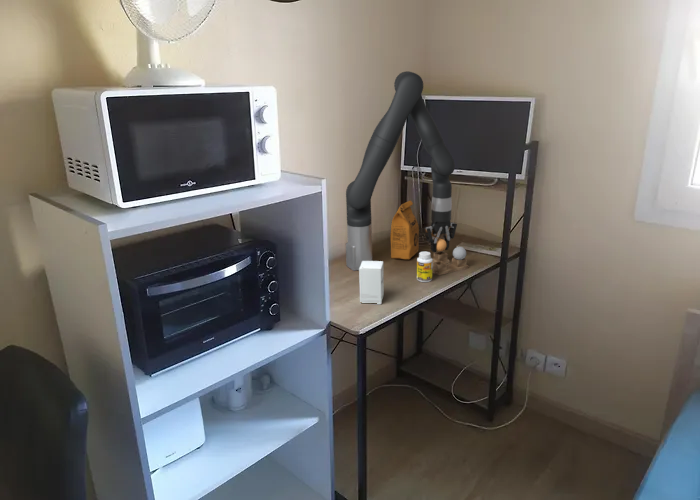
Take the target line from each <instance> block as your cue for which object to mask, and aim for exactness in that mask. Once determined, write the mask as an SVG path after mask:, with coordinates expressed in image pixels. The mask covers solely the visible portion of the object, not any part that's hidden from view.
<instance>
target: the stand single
mask: <svg viewBox="0 0 700 500" xmlns="http://www.w3.org/2000/svg"><path fill="white" fill-rule="evenodd" d="M431 258H432V259H433V262H437V261H443V262H445V263H447V264H450V259H448V253H447V252H444V250H443V251H436V252H433V257H431Z"/></svg>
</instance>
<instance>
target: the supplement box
mask: <svg viewBox="0 0 700 500" xmlns="http://www.w3.org/2000/svg"><path fill="white" fill-rule="evenodd" d="M358 274H359V275H358V281H359V303H360V302H362V303H377V304H376V305H382V303H383V298H384V296H385V295H384V293H385V292H384V283H385V282H384V279H385V278H384V276H385V275H384V261H383V260H382V261H381V260H380V261H379V260H372V261H362V263H361V265H360V268H359V270H358Z"/></svg>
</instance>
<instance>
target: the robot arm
mask: <svg viewBox="0 0 700 500" xmlns="http://www.w3.org/2000/svg"><path fill="white" fill-rule="evenodd" d="M393 84H394V87H393V88H394V92H395V93H394V96H393V98H392V100H391V103H390V105H389V107H388V109H387V111H386V112H385V114H384V115H383V116H382V118H381V119H380V121H379V122H378V123H377V125H376V127H375V128H374V130H373V132H372V135H371V137H370V139H369V141H368V143H367V146H366V148H365V151H364V152H365V153H364V155H363V159H362V163H361V166H360V168H359V171H358V173H357V175H356V177H355V179H354V180H353V181H351V182H350V183H349V184H348V185H347V187H346V191H345V201H346V203H345V204H346V225H347V226H346V228H347V242H346V243H345V258H346V259H345V260H346V261H345V262H346V263H345V264H346V267H347V268H349V269H350V270H352V271H354V272H355V271H359V268H360V265H361V263H362V261H373V237H372V235H373V233H372V230H373V227H372V202H371V200H372V196H373V193H374V190H375V187H376V185H377V183H378V180H379V177H380V175H381V174H382V172H383V170H384V169H385V168H386V165H387V163H388V162H389V160H390V157H392V154H393V153H394V150H395V148H396V146H397V143H398V141H399V139H400V137H401V135H402V131H403V130H404V128H405V126H406V125H405V124H406V122H407V119H408V118H409V116H410V117H411V119H412V121H413V123H414V125H415V127H416V131H417V133H418V135H419V138H420V140H421V143H422V144H423V145H422V146H423V147H424V149H425V151H426V152H427V154H428V155H430V158H431V163H430V171H431V179H432V198H431V209H430V210H431V211H430V219H431V224H430V226H425V227H424V228H423V229H424V235H425V239H426V242H428V243H430V250H431V252H433V253H435V252H437V250H436V248H437V243H436V242H437V239H439V237H440V235H442V236H443V239H444V240H445V241H446V244H447V246H446V248H445V249H444V251H448V250H449V248H450V241H451V240H452V239H455V234H456V230H457V227H458V226H457V225H458V224H457V223H455V222H453V221H452V206H453V205H452V203H453V202H452V201H453V200H452V191H453V190H452V189H453V188H452V187H453V186H452V182H451V181H450V176H451V175H452V174H453V173H454V171H455V169H456V163H455V161H454V158H453V155H452V154H451V152H450V151H449V149H448V148H447V146H446V144H445V141H444V139H443V137H442V134H441V132H440V130H439V128H438V126H437V123H436V122H435V120H434V118H433V117H432V115H431V113H430V111H429V109H428V108H427V106H426V104H425V102H424V99H423V95H422V93H423V91H424V80H423V79H422V77H421V75H420V74H418V73H416V72H413V71H403V72H400V73H399V74H398V75H397V76H396V77H395V80H394V83H393ZM451 221H452V222H451Z"/></svg>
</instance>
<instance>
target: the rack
mask: <svg viewBox="0 0 700 500" xmlns="http://www.w3.org/2000/svg"><path fill="white" fill-rule="evenodd" d="M467 261H468V260H467V259H466V257H465V258H464V259H462V260H457V259H455V258H454V257H452V259H451V263H445V262H443V261H437V262H433V267H432V274H434V275H436V276H440V275H445V274H449V273H454V272H458V271H461V270H466V269H467V270H468V269H469V265H468V264H467Z"/></svg>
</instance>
